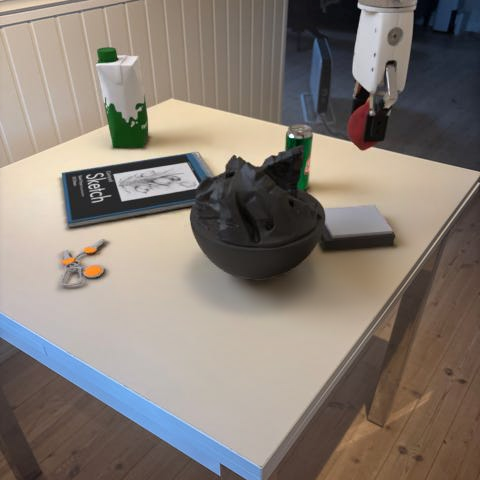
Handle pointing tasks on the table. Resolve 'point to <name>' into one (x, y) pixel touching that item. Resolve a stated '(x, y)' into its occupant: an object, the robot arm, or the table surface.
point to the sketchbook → (132, 188)
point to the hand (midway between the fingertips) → (366, 131)
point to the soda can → (304, 137)
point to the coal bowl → (257, 217)
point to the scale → (355, 228)
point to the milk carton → (123, 98)
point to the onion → (359, 127)
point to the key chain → (88, 272)
